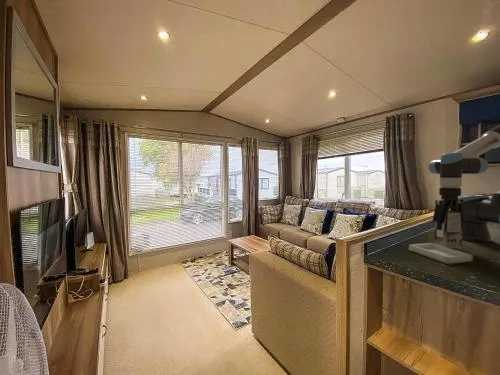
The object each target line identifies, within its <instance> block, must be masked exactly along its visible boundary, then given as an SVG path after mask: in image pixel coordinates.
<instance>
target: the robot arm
mask: <svg viewBox="0 0 500 375" xmlns="http://www.w3.org/2000/svg"><path fill="white" fill-rule="evenodd" d="M497 148H500V124H499V125H496V126H495V127H492V128H491V129H489V130H488V131H486V132H484V133H482V135H480V137H479V138H477V139H475V140H473V141H472V142H470V143H468V144H466V145H465V146H463V147H461V148H459V149H457V150H456V151H453V152H446V153H443V154H441V155H440V159H434V160H431V161H430V163H429V164H428V170H429V172H430V173H431V174H434V175H439V186H440V187H439V189H438V191H439V192H438V195H440V196H441V197H440V199H435V200H434V203H435V206H434V211H433V212H434V213H433V217H432V221H433V222H434V223H435V222H437V236H438V237H442V238H444V230H445V223H443V222H444V219H445V212H447V211H448V210H452V211H458V212H462V213H464V214H463V232H462V240H464V241H470V242H475V243H490V242H492V236H491V232H490V230H489V228H488V227H489V226H488V223H493V224H496V225H497V224H498V225H500V189H499V190H498V191H497V192H493V194H492V196H491V197H490V195H462V186H463V185H462V184H463V182H462V180H463V178H462V177H463V175H479V174H483V173H485V172H486V171H487V170H488V167H489V163H488V161H487V159H485V158H483V157H479V156H481V155H483V154H485V153H487V152H489V151H490V150H492V149H497Z"/></svg>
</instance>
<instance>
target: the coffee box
mask: <svg viewBox="0 0 500 375" xmlns="http://www.w3.org/2000/svg"><path fill="white" fill-rule="evenodd" d="M463 214H464V213H462V212H458V211H452V210H450V209H449V210H448V211H447V212H445V219H444V222H443V223H445V230H444V238H442V237H438V236H437V222H434V244H437V245H441V246H444V247H447V248H451V249H462V248H463V239H462V232H463Z"/></svg>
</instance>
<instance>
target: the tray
mask: <svg viewBox="0 0 500 375" xmlns="http://www.w3.org/2000/svg"><path fill="white" fill-rule="evenodd" d="M408 251H409V252H413V253H415V254H418V255H421V256H424V257H426V258H430V259H432V260H434V261H438V262H441V263H443V264H446V265H448V264H449V265H450V264H451V265H453V264H459V263H460V264H461V263H469V262H474V254H471V253H468V252H465V251H461V250H457V249H455V248H447V247H444V246H442V245H440V244H437V243H435V242H434V243H433V242H426V243H424V242H423V243H413V244H408Z"/></svg>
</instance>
